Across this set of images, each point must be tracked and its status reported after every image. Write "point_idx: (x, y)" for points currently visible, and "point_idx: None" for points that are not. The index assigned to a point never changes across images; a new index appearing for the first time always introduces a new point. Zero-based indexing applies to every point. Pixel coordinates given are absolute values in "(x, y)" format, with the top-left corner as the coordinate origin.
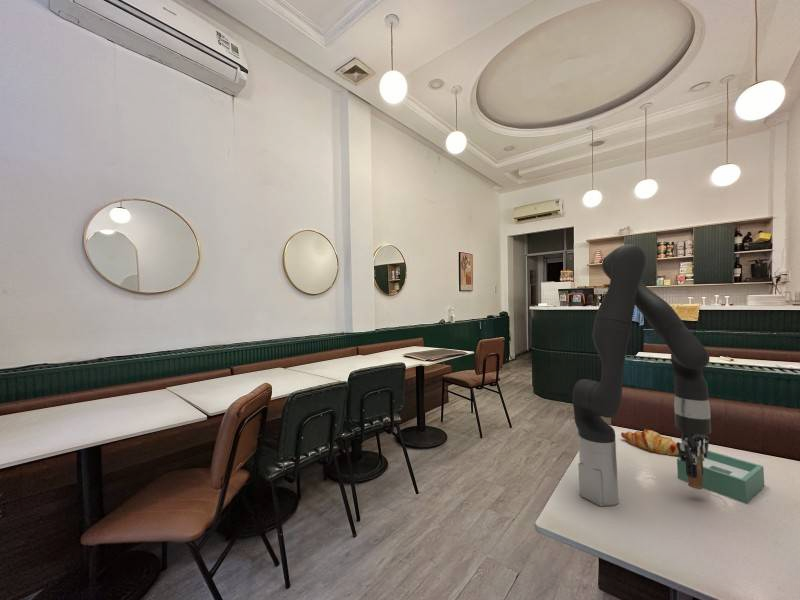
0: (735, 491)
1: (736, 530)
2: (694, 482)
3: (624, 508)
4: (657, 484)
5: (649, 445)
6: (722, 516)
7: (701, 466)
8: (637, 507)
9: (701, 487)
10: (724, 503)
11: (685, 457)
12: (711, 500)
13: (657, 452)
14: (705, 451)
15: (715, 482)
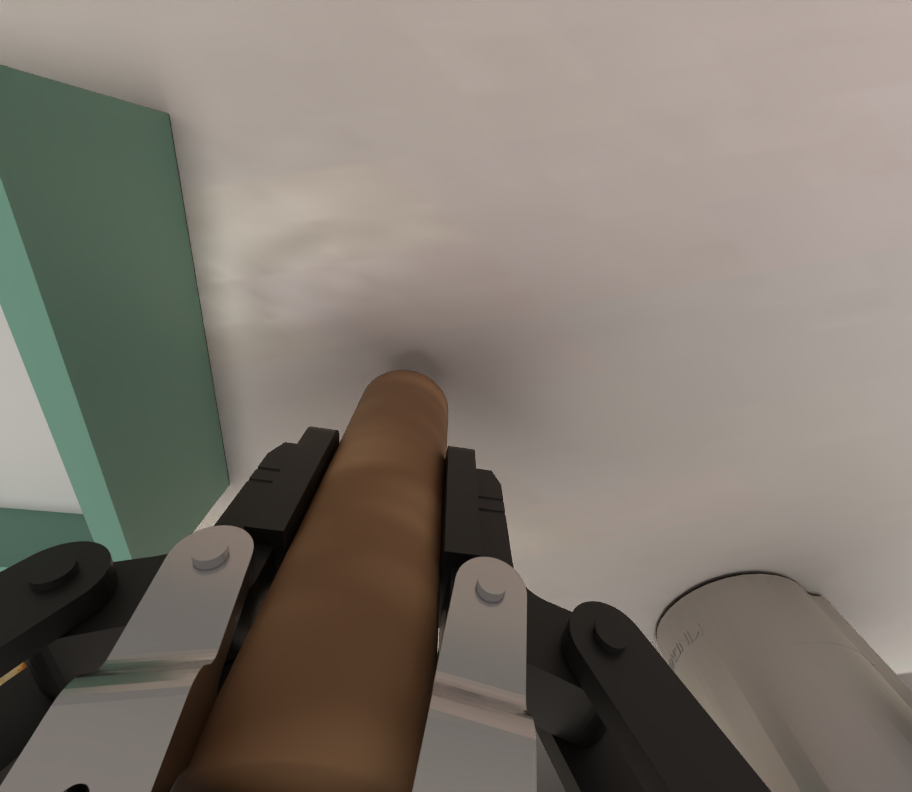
0: (133, 186)
1: (674, 112)
2: (446, 431)
3: (778, 546)
4: None
5: (8, 676)
6: (532, 215)
7: (363, 497)
8: (734, 519)
9: (418, 379)
10: (322, 237)
11: (554, 728)
12: (353, 304)
13: None
14: (55, 712)
15: (150, 327)
